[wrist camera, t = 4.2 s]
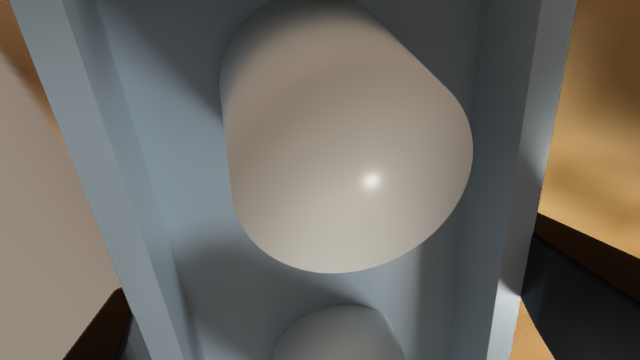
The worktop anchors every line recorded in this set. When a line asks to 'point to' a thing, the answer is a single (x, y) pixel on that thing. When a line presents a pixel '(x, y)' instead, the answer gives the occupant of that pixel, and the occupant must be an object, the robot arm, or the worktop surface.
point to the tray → (190, 184)
